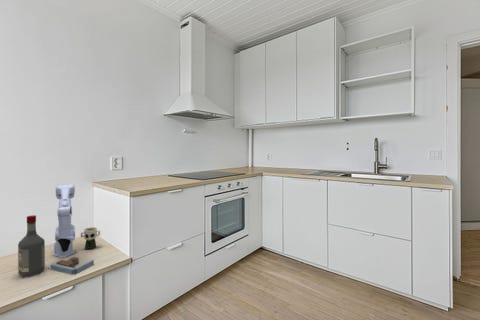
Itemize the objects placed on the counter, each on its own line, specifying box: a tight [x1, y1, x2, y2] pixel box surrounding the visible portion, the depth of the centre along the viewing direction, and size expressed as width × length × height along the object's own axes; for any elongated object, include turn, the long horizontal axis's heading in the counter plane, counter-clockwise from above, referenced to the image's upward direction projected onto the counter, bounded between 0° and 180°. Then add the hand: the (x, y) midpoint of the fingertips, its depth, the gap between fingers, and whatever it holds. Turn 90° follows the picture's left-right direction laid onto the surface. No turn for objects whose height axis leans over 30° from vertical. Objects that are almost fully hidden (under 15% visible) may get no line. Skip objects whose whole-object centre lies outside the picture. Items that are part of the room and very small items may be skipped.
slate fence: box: [49, 259, 95, 275], centre depth 128 cm, size 17×12×2 cm
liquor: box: [17, 214, 46, 278], centre depth 121 cm, size 9×9×30 cm
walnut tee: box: [55, 256, 80, 268], centre depth 128 cm, size 8×9×4 cm
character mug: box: [80, 226, 101, 250], centre depth 152 cm, size 11×7×13 cm, turn 113°
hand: (65, 251), depth 131 cm, fingers closed
